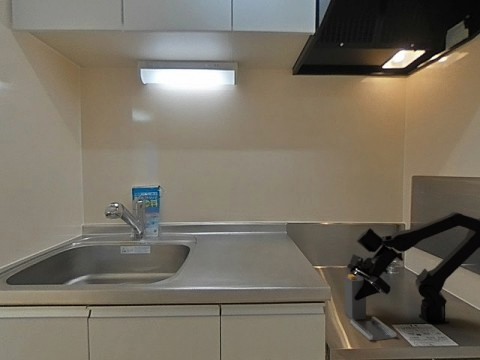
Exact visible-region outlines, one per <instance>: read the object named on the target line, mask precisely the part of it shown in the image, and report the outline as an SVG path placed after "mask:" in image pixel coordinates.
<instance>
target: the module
mask: <svg viewBox="0 0 480 360" xmlns="http://www.w3.org/2000/svg"><path fill="white" fill-rule="evenodd" d="M363 283H364V279H363V278H362V277H360V276H358V275H357V276H354V275H353V274H351V273H350V274H347V276H346V275H344V314H345V316H347V317H348V318H349V319H354V320H355V321H357V320H366V319H367V297H365V298H362V299H360V300H355V296H356V295H357V293H358V292H359V290H360V289H361V288H362V286H363Z"/></svg>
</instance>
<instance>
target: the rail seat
mask: <svg viewBox="0 0 480 360" xmlns="http://www.w3.org/2000/svg"><path fill="white" fill-rule="evenodd" d="M349 319H350V318H349ZM349 322H350V325H351V326H352V327H354V329H356V330H357V331H358V333H360V334H362V336H364V337H365V338H366V339H367V340H368V341H369V342H373V341H382V340H390V339H396V338H397V332H395V331H394V330H393V329H391V328H390V327H389V326H388V325H386V324H385V323H383V322H382V321H381V320H380V319H378V318H377V317H375V316H371V320H365V321H357V320H354V319H350V321H349Z"/></svg>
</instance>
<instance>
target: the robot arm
mask: <svg viewBox="0 0 480 360" xmlns="http://www.w3.org/2000/svg"><path fill="white" fill-rule="evenodd" d="M457 227H462V228H465V229H468V231H467V233H466V236H465V238H464V239H463V240H462V241H460V243H458V245H456V247H455V248H454V249H453V250H451V251H450V252H449V254H447V256H446V257H445V258H444V259H442V260H441V261H440V263H438V264H437V266H435V267H434V268H433V269H431V270H428V269H427V268H423V269H422V270H421V272H420V273H419V274H418V275H416V276H415V277H416V279H415V282H414V283H415V288H416V289H417V292H418V294H419V295H420V296H421V298H423V299H421V304H420V313H419V314H418V317H419V318H421V319H423V320H424V321H426V322H427V323H428V324H429V323H430V324H431V325H437V324H449V323H450V319H449V320H448V319H447V318H446V304H447V302H448V300H447V299H446V298H445V296H444V294H443V293H442V292H441V291H442V289H443V288H444V286H445V283H446V280H447V279H448V278H450V276H451V275H452V274H453V273H454V272H455V271H457V270H458V269H459V268H460V267H461V266H462V265H463V264H464V263H465V262H466V261H467V260H468V259H469V258H470V257H472V256H473V254H474V253H475V252H476V251H478V249H480V218H475V217H472V216H468V215H465V214H462V213H460V212H457V211H454V212H451V213H449V214H447V215H445V216H443V217H440V218H437V219H435V220H433V221H431V222H427V223H425V224H423V225H420V226H418V227H415V228H409V229H402V230H399V231H395V232H393V233H392V234H391V235H390V234H389V235H385V236H381V235H379V234H378V233H377V232H375V231H374V230H373V228H372V227H369V228H368V229H366V230H365V231H364V232H362V233H361V234H360V236H359V237H358V238H357V239H356V243H357V244H359V245H360V246H361V247H362V248H363V249H365V250H366V251H367V252H368V253H375V254H374V255H373V256H372V257H371V256H364V257H361V256H359V255H356V254H354V253H353V254H352V255H351V259H350V262H349V264H348V265H347V266H346V268H347V270H349V272H350V274H353V275H354V276H357V275H358V276H360V277H362V278H363V279H364V283H363V286H362V288H361V289H360V290H359V292H358V293H357V295H356V296H355V300H360V299H362V298H365V297H366V298H367V297H370V296H373V295H377V294H381V293H382V294H384V295H386V296H388V295H389V293H391V291H392V289H391V286H390V285H389V283H387V281H386V280H384V278H382V276H383V274H384V273H385V274H388V273H389V271H388V268H389V267H390V266H391V265H392V263H393V262H394V261H395V260H396V261H398V262H403V261H404V258H403V252H407V251H409V250H410V249H411V248H413V247H415V246H416V245H418V244H419V243H420V242H421V241H423V240H426V239H428V238H432V237H434V236H436V235H439V234H441V233H444V232H447V231H449V230H451V229H454V228H457ZM397 251H398V252H397Z"/></svg>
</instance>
